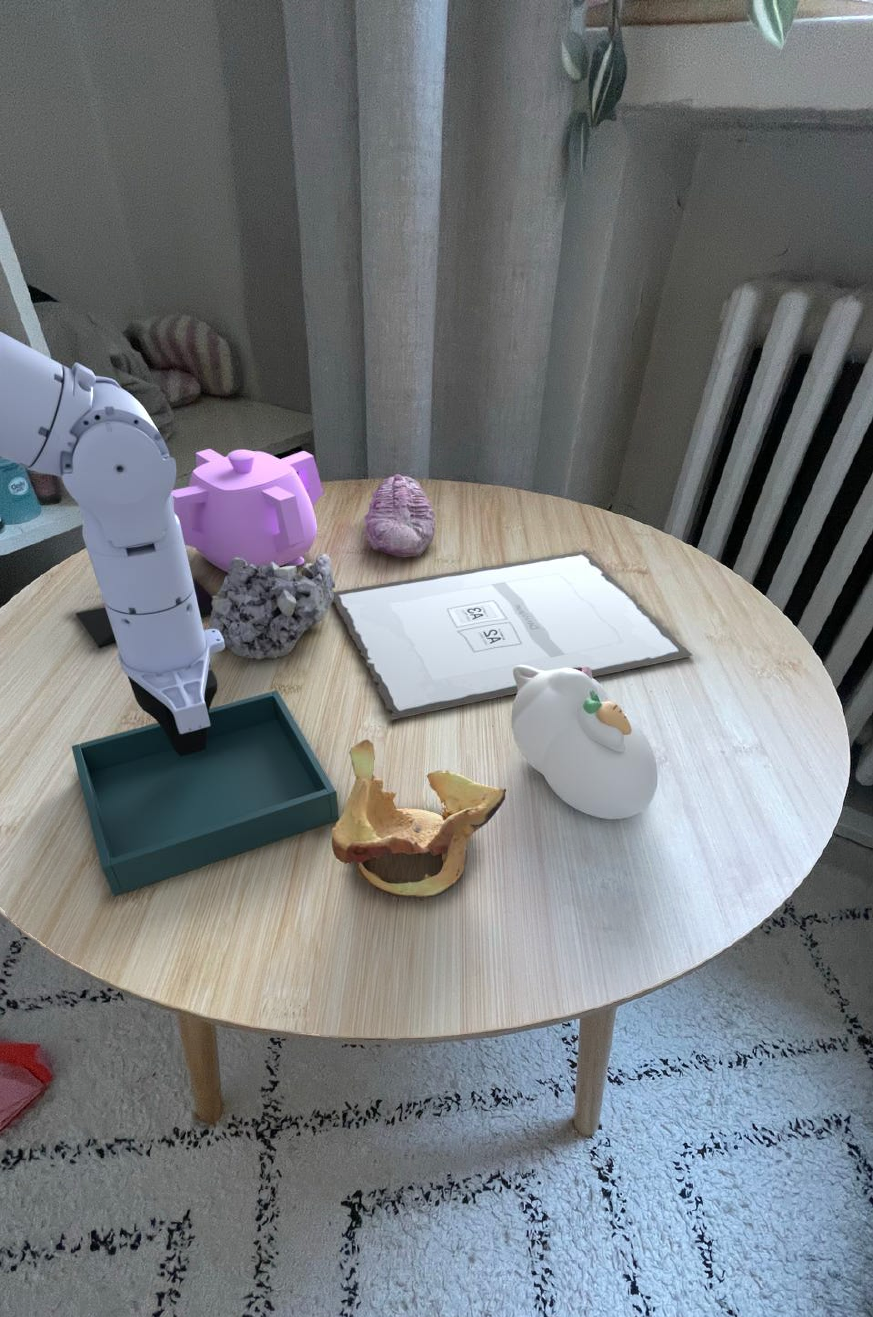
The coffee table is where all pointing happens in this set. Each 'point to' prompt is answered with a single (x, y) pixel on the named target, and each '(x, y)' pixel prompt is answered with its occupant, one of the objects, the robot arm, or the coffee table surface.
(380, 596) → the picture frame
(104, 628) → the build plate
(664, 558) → the coffee table surface
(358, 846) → the bone
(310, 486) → the pot
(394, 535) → the fossil
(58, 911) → the coffee table surface
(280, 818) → the tray
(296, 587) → the mineral specimen
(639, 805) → the cat figurine
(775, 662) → the coffee table surface
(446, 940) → the coffee table surface
